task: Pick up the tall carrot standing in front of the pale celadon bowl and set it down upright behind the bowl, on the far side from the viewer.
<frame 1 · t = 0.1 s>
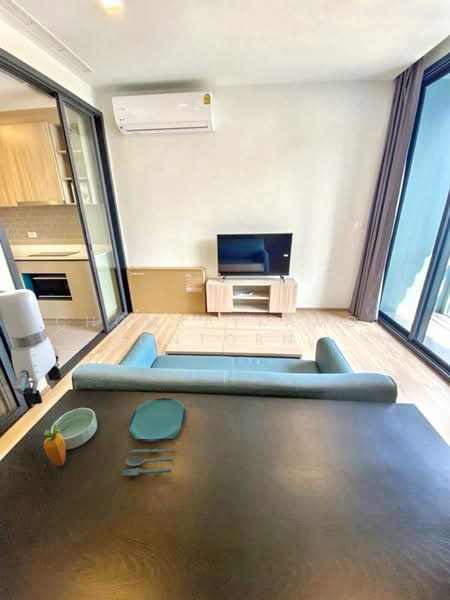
hand: (46, 390, 70), 25 cm above the table, tool pointing down, fingers open, 9 cm apart
bowl: (76, 433, 87), on the table
carrot: (61, 466, 76), on the table
cutlery set: (155, 433, 87), on the table
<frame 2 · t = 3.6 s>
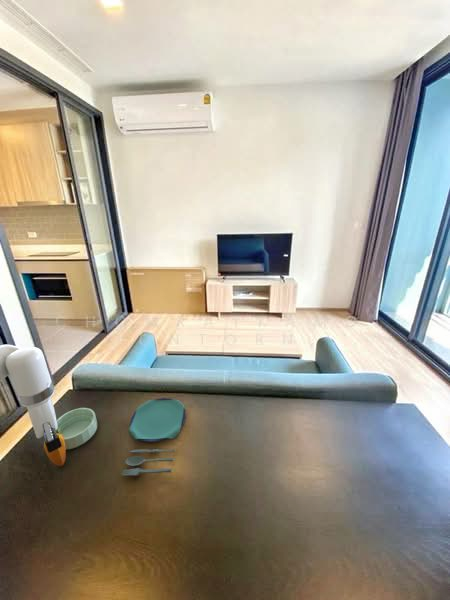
hand: (53, 442, 73), 10 cm above the table, tool pointing down, fingers closed on carrot, 4 cm apart
carrot: (61, 466, 76), on the table, touching gripper
everything else where it was.
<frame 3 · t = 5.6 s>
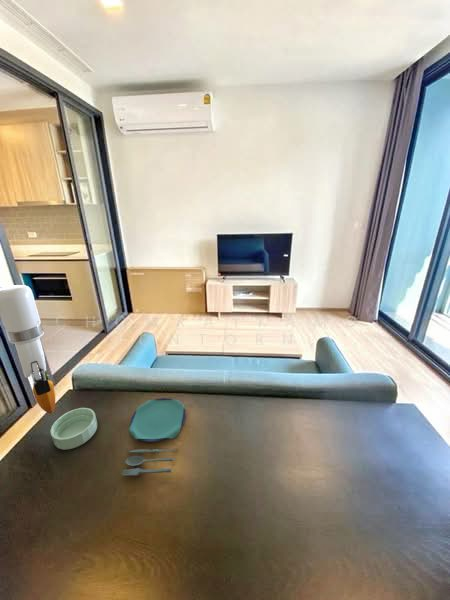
hand: (43, 387, 72), 25 cm above the table, tool pointing down, fingers closed on carrot, 4 cm apart
carrot: (51, 413, 76), point 15 cm above the table, touching gripper
everything else where it was.
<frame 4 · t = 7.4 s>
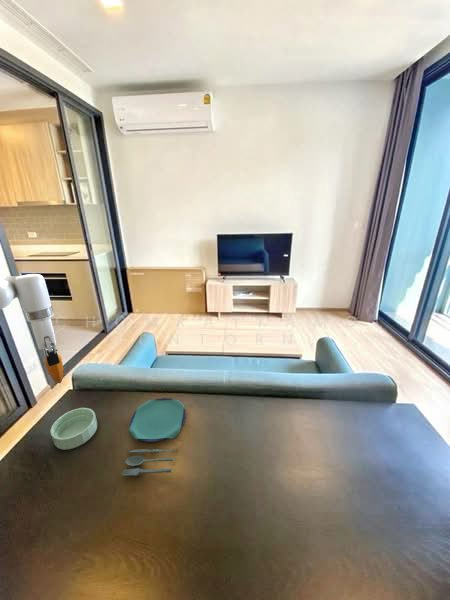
hand: (53, 360, 87), 24 cm above the table, tool pointing down, fingers closed on carrot, 4 cm apart
carrot: (60, 383, 90), point 14 cm above the table, touching gripper
everything else where it was.
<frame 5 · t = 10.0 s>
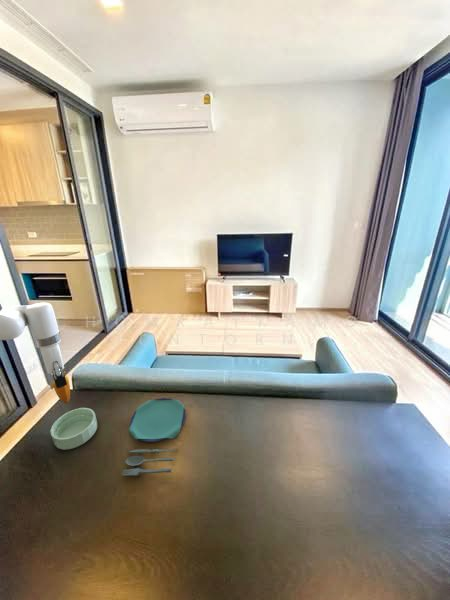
hand: (60, 381, 91), 14 cm above the table, tool pointing down, fingers closed on carrot, 4 cm apart
carrot: (67, 403, 95), point 4 cm above the table, touching gripper
everything else where it was.
when the fingers open (10 cm above the table, at t = 11.6 s): carrot stays where it is, on the table.
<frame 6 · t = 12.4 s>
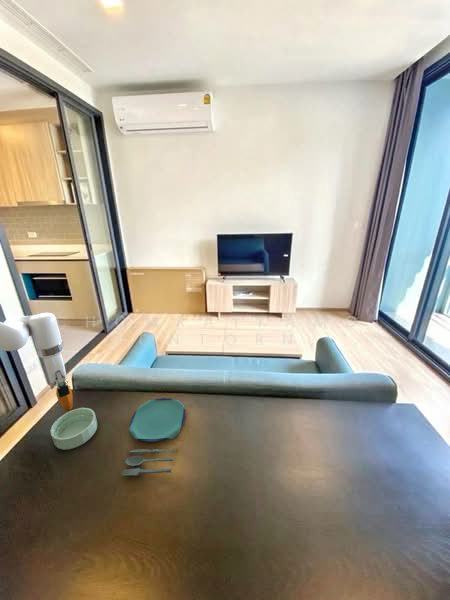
hand: (62, 388, 92), 11 cm above the table, tool pointing down, fingers open, 9 cm apart
carrot: (69, 411, 96), on the table
everything else where it was.
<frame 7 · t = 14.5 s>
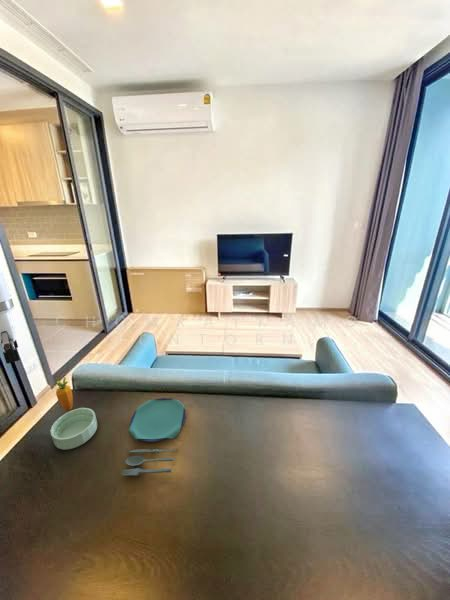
hand: (12, 354, 81), 29 cm above the table, tool pointing down, fingers open, 9 cm apart
nothing on the table moved.
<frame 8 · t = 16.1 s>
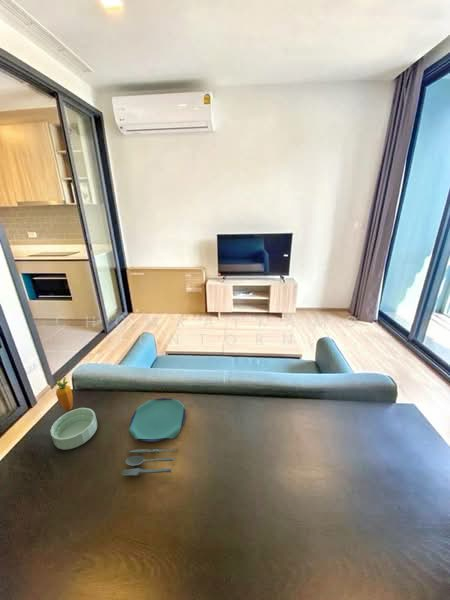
nothing on the table moved.
at the end: carrot inside the target area on the table beside the bowl (0.5 cm from its centre), on the table; carrot tilted 0°; the gripper is holding nothing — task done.
